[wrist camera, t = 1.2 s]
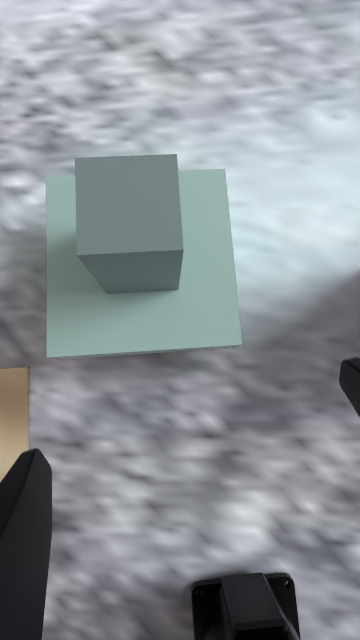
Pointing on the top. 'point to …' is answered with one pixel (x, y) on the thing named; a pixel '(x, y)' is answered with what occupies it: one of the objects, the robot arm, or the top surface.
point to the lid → (138, 259)
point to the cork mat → (13, 416)
